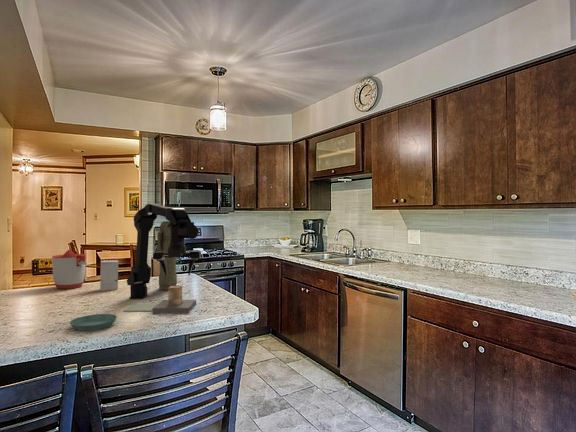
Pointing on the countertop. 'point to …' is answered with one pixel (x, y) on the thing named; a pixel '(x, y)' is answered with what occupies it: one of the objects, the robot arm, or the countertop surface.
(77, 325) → the saucer
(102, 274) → the skincare box
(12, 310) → the countertop surface
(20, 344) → the countertop surface
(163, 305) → the grey flat square slab
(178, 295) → the wooden plug
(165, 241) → the thermos
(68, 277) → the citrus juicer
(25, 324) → the countertop surface
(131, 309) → the rubber mat
